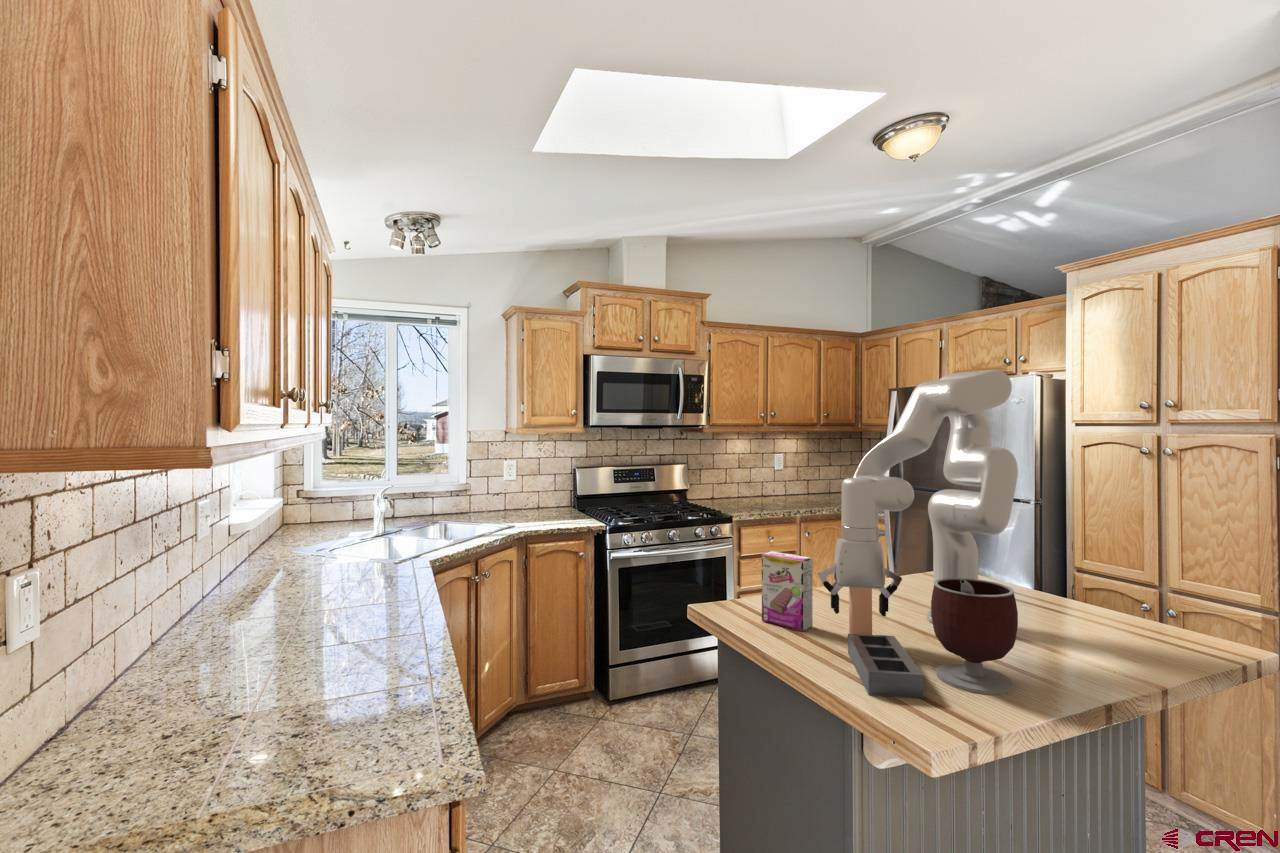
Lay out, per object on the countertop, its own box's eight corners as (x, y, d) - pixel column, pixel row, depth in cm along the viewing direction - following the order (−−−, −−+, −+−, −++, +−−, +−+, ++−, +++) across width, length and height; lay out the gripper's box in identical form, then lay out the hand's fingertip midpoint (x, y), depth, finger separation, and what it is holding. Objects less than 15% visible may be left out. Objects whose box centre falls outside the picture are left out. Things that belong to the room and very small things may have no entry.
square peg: (868, 638, 132) (867, 579, 132) (872, 644, 128) (871, 583, 128) (849, 637, 132) (849, 578, 133) (852, 643, 129) (852, 583, 129)
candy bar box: (760, 621, 143) (760, 553, 144) (771, 617, 147) (771, 550, 147) (803, 632, 136) (802, 560, 136) (813, 627, 140) (813, 556, 140)
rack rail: (894, 655, 121) (894, 635, 121) (924, 698, 102) (923, 675, 102) (848, 653, 123) (847, 633, 123) (868, 695, 103) (868, 671, 103)
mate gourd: (941, 659, 119) (940, 559, 119) (1023, 677, 110) (1022, 569, 111) (920, 685, 107) (919, 573, 108) (1010, 707, 98) (1009, 585, 99)
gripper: (896, 533, 133) (896, 610, 132) (816, 530, 136) (815, 606, 135) (906, 538, 125) (905, 621, 125) (820, 535, 128) (820, 616, 128)
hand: (859, 613), depth 130 cm, fingers open, 9 cm apart
